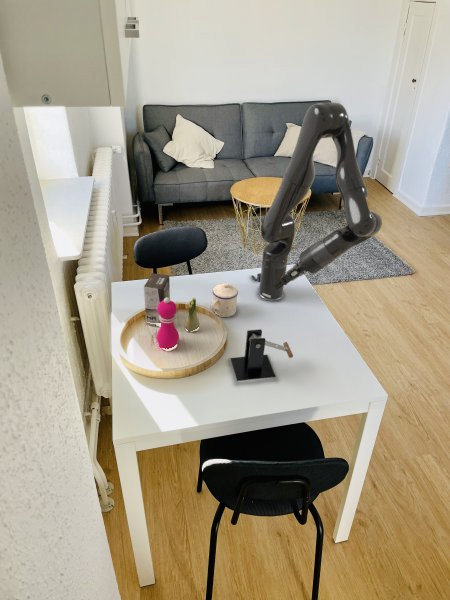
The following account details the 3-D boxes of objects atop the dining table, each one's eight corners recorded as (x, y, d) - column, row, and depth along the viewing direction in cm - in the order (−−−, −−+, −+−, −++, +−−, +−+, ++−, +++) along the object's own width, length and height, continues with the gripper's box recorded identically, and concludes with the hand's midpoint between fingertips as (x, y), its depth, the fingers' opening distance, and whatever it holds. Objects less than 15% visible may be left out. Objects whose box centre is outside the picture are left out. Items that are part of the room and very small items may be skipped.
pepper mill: (182, 344, 151) (182, 294, 139) (173, 357, 145) (172, 307, 134) (163, 338, 153) (161, 289, 141) (153, 351, 147) (150, 301, 135)
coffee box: (163, 328, 157) (161, 289, 148) (145, 325, 158) (142, 286, 149) (171, 312, 165) (170, 275, 155) (154, 309, 165) (152, 272, 156)
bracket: (266, 357, 147) (271, 323, 139) (275, 379, 139) (280, 344, 131) (230, 361, 145) (232, 326, 137) (236, 383, 137) (240, 348, 129)
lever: (285, 347, 143) (289, 341, 142) (290, 359, 139) (295, 353, 138) (247, 335, 137) (251, 329, 136) (252, 347, 133) (256, 341, 132)
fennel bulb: (192, 323, 160) (193, 295, 153) (203, 329, 158) (203, 301, 151) (181, 331, 156) (181, 302, 149) (191, 337, 154) (192, 308, 147)
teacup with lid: (222, 300, 172) (223, 274, 166) (241, 310, 168) (243, 283, 161) (201, 314, 165) (202, 287, 158) (220, 325, 160) (222, 298, 153)
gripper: (319, 239, 141) (281, 266, 150) (303, 251, 129) (263, 279, 139) (333, 259, 141) (295, 285, 150) (319, 272, 129) (278, 299, 139)
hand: (280, 282), depth 145 cm, fingers open, 8 cm apart
